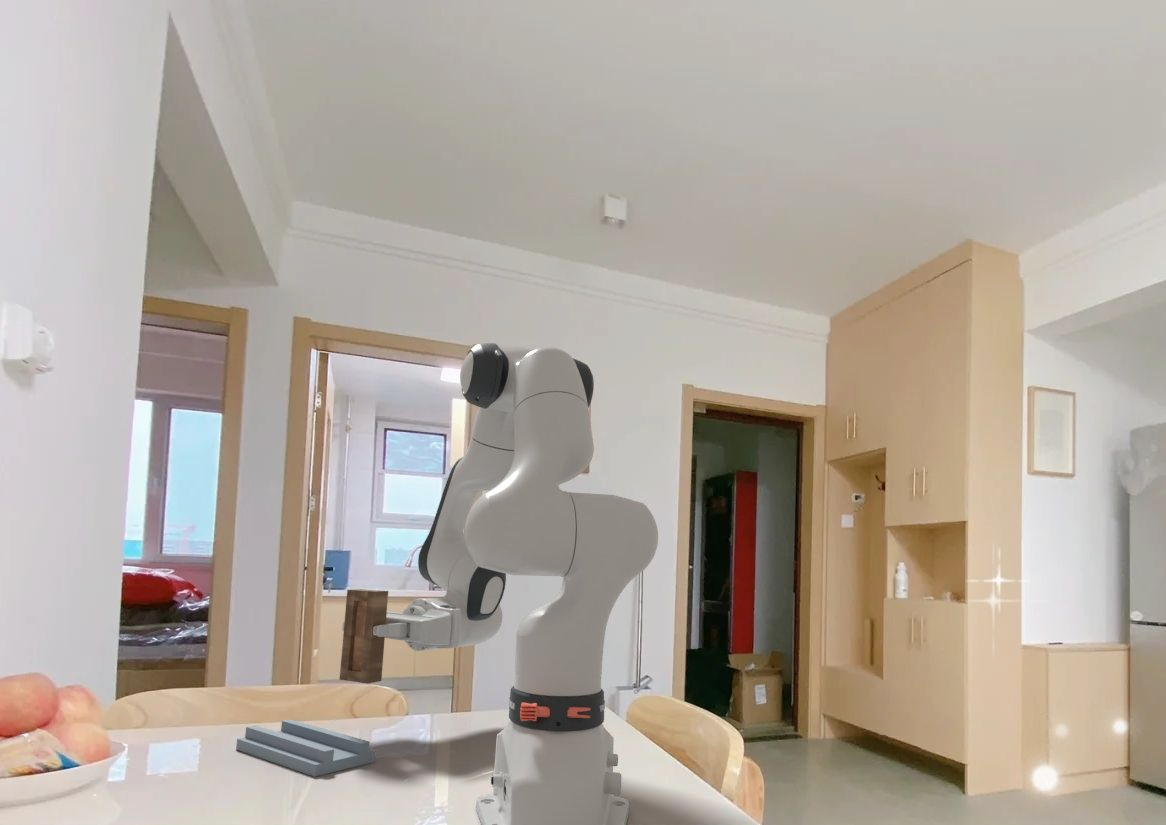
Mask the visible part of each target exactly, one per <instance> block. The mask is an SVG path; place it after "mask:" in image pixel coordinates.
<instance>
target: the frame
mask: <svg viewBox="0 0 1166 825" xmlns="http://www.w3.org/2000/svg"><path fill="white" fill-rule="evenodd" d="M388 599H389V590H379V589H378V590H377V589H365V588H363V589H362V588H359V589H358V588H357V589H354V588H352V589H347V591H346V600H345V603H346V604H345V612H344V621H345V623H344V632H343V634H342V649H341V656H340V657H341V659H340V660H341V661H340V670H339V680H340V681H345V682H347V681H348V682H354V683H361V684H369V685H370V684H373V683H378V682H379V683H380V682H382V677H383V676H382V675H383V665H384V652H385V639H386V638H385V637H377V636H373V634H372V632H373V626H374V625H376V624H386V615H387V611H388Z"/></svg>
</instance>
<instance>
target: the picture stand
mask: <svg viewBox="0 0 1166 825" xmlns="http://www.w3.org/2000/svg"><path fill="white" fill-rule="evenodd" d="M235 750H236V751H238V752H242V753H245V754H248V755H251V756H254V757H257V758H259V759H263V760H264V761H269V762H270V763H274V764H277V765H280V766H282V767H286V768H287V769H291V770H293V771H297V772H300V773H303V774H305V775H308V776H311V777H314V778H315V777H319V776H323V775H327V774H332V773H336V772H340V771H343V770H347V769H348V770H349V769H351V768H356V767H360V766H365V765H368V764H372V763H375V762H376V750H373V749H370V740H365V739H361V738H359V737H358V738H357V737H355V736H351V735H347V734H345V733H340V732H337V731H334V730H330V729H326V728H323V727H318V726H315V725H311V724H308V723H304V722H301V721H298V720H294V719H284V720H282V721H281V727H280V730H278V731H275V730H272V729H268V728H265V727H262V726H260V725H259V726H258V725H250V726H246V727H245V735H244V737H240V738H237V740H236V747H235Z"/></svg>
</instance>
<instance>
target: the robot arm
mask: <svg viewBox="0 0 1166 825" xmlns="http://www.w3.org/2000/svg"><path fill="white" fill-rule="evenodd" d="M459 373H460V374H459V376H460V378H459V379H460V385H461V386H460V387H461V393H462V396H463V397H464V398H465V400H466V401H467V402H468V403H469V404H471V405H472V406H475V407H478V409H477V412H476V415H475V417H474V422H473V425H472V430H471V435H470V440H469V443H468V447H467V450H466V452H465V454H463V456H461V457H460V458H459V459H458V460H457V461H456V462H455V463H454V465H453V466H452V467H451V470H450V471H449V472H450V473H449V474H448V476H447V480H446V483H445V486H444V488H443V492H442V494H441V498H440V500H439V503H438V504H439V505H438V507H437V509H436V513H435V517H434V519H433V522H432V525H431V528H430V530H429V532H428V534H427V536H426V539H425V540H424V541H423V544H422V545H421V548H420V551H419V553H418V561H417V565H418V571H419V573H420V575H421V577H422V578H423V579H425V581H428V582H430V583H431V584H433V585H436V586H437V587H440V588H441V589H443V591H446V593H445V595H444V596H442V597H432V598H431V597H430V598H429V597H428V598H427V597H426V598H425V597H424V598H422V597H421V598H417V599H413V600H412V601H411V602H410V603H409V604H408V605H407V606H406V608H405V609H404V610H403V612H398V611H388V610H387V615H386V624H376V625H374V626H373V632H372V634H373V636H377V637H385V639H389V640H395V641H396V640H397V641H403V642H405V643H406V644H407V646H408V647H409V648H410V649H412V650H413V651H415V652H425V651H426V652H427V651H434V650H443V649H456V648H462V647H470V646H475V645H479V644H481V643H485V642H487V641H488V640H490V639H492V638H493V637H495V636H496V635H497V633H498V632H499V630H500V629H501V626H502V623H503V610H502V607H501V605H500V603H501V602H502V599H503V596H504V593H505V590H506V583H507V575H512V576H526V577H527V576H530V577H531V576H532V577H562V578H563V579H562V584H561V586H560V587H561V588H560V590H559V592H558V593H557V595H556V596H555V597H554V598H553V600H551V601H549V602H547V603H545V604H542V605H541V606H539V607H537V608H535V609H534V610H532V611H530V612H529V613H528V614H526V616H524V618H523V619H522V620H521V621H520V624H519V625H518V628H517V630H516V637H515V639H516V641H515V660H514V679H513V680H514V682H513V685H512V687H511V688H510V692H509V693H510V694H509V698H508V718H509V722H508V723H507V725H506V726H505V727H504V728H503V729H502V730H500V732H499V733H497V734H496V742H495V743H496V744H495V756H494V758H495V759H494V771H493V774H492V776H491V778H490V784H491V786H492V793H487V794H483V795H482V794H481V795H480V796H478V797H477V798H476V804H475V809H476V814H477V815H478V819H479V820H480V824H481V825H627V822H628V818H629V813H630V804H629V803H630V802H629V800H628V799H626V798H624V797H621V796H619V795H621V793H622V773H620V772H614V767H618V764H619V755H618V754H617V753H614V741H615V740H614V739H615V738H614V736H613V735H611V733H610V732H609V731H608V730H607V729H606V727H605V726H604V724H603V723H604V722H605V709H606V700H605V691H604V690H603V688H602V675H603V674H602V671H603V670H602V669H603V656H604V645H605V636H606V629H607V625H608V621H609V618H610V615H611V613H612V610H613V608H614V606H615V604H616V602H617V600H618V599H619V597H620V595H621V593H622V592H623V591H624V590H625V588H626V587H627V585H628V584H629V583H631V581H633V579H635V577H637V576H638V575H640V574H641V573H642V572H644V571H645V570H646V568H647V567H648V566H649V565H650V564H651V562H652V560H653V559H654V556H655V555H656V553H657V549H658V544H659V530H658V526H657V522H656V518H655V517H654V515H653V513H652V512H651V510H650V509H649V507H648V506H647V505H646V504H644V503H643V502H639V501H638V500H637V501H636V500H634V499H630V498H625V497H622V496H618V495H614V494H604V493H588V492H587V493H586V492H572V491H571V492H570V491H569V492H568V491H566V490H563V489H561V488H560V486H561V485H563V484H565V483H568V482H569V481H571V480H574V479H575V478H576V477H578V476H580V475H581V474H582V473H583V472H584V471H585V470H586V469H587V468H588V467H589V466H590V464H591V462H592V460H593V457H594V451H595V446H594V439H593V433H592V432H593V431H592V425H591V424H592V423H591V419H590V411H589V408H590V405H591V403H592V399H593V397H594V396H593V395H594V389H595V388H594V386H595V384H594V383H595V382H594V375H593V372H592V370H591V369H590V367H589V366H588V364H586V363H585V362H583V361H581V360H578V359H576V358H574V357H572V356H571V355H570V354H569V353H568V352H566V351H565V350H563V349H561V348H557V347H553V346H543V347H539V348H535V349H534V348H529V347H525V346H524V347H522V346H512V345H498V344H497V343H491V342H488V343H486V342H485V343H479V344H476V345H474V346H473V347H471V348H470V349H469V350H468V351H467V354H466V356H465V358H464V360H463V362H462V365H461V368H460V372H459ZM481 491H483V492H484V491H487V492H485V493H483V494H482V495H481V496H479V498H478V499H476V501H475V502H474V500H475V498H476V496H477V495H478V494H479V493H480V492H481ZM473 502H474V503H473ZM344 623H345V620H344V621H343V622H342V632H343V633H344Z"/></svg>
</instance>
